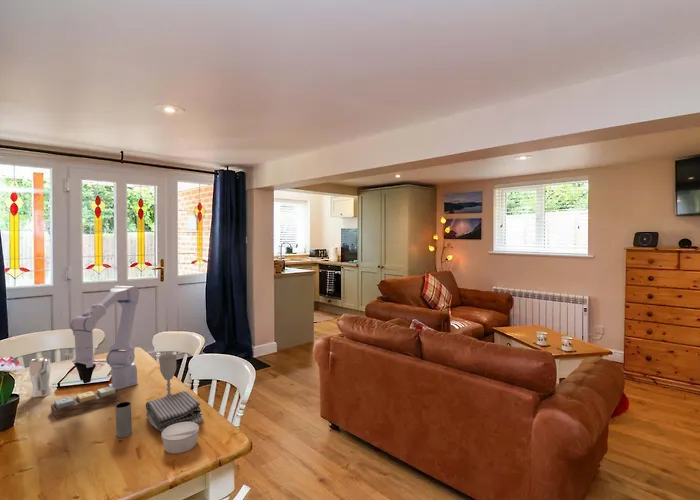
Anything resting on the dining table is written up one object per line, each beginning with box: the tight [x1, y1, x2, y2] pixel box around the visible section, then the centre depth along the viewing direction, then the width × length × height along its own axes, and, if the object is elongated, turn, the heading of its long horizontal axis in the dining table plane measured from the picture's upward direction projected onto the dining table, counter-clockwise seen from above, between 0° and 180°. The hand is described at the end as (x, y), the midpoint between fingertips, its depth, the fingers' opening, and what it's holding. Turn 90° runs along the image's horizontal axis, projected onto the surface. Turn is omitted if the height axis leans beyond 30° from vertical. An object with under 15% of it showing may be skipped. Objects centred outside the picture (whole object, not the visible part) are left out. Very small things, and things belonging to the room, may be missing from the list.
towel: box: [145, 390, 205, 434], centre depth 141 cm, size 15×18×8 cm
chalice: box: [157, 353, 178, 397], centre depth 156 cm, size 7×7×18 cm
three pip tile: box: [54, 396, 74, 409], centre depth 147 cm, size 5×5×2 cm
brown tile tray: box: [50, 390, 120, 421], centre depth 152 cm, size 21×11×3 cm, turn 137°
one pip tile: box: [96, 385, 115, 397], centre depth 157 cm, size 5×5×2 cm
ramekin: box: [161, 422, 200, 455], centre depth 124 cm, size 11×11×5 cm
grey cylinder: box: [114, 401, 133, 439], centre depth 131 cm, size 4×4×10 cm
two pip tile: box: [76, 390, 95, 403], centre depth 152 cm, size 5×5×2 cm
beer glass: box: [28, 356, 52, 399], centre depth 162 cm, size 7×7×15 cm
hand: (85, 381), depth 152 cm, fingers open, 4 cm apart
